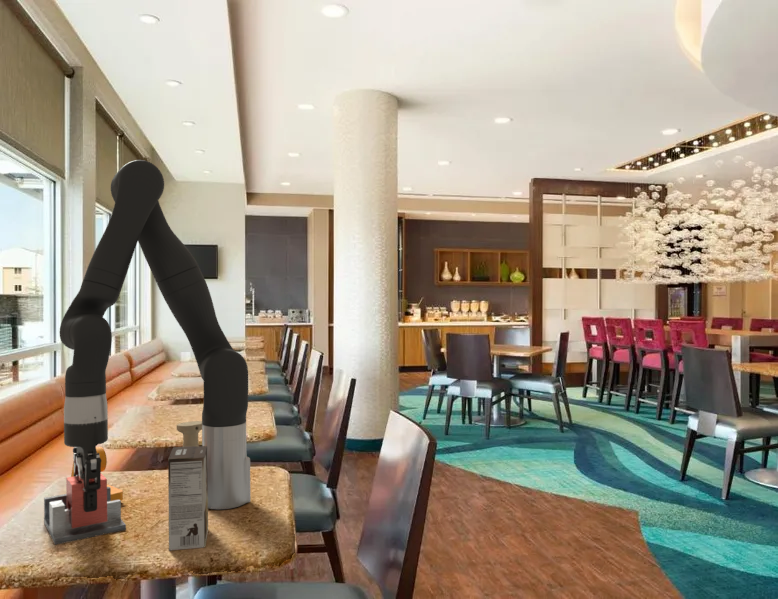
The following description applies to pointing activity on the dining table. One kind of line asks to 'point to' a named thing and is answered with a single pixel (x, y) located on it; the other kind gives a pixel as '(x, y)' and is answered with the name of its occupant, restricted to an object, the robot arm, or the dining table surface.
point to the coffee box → (188, 497)
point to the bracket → (115, 492)
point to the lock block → (77, 502)
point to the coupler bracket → (62, 532)
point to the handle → (190, 432)
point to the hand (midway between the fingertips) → (86, 506)
